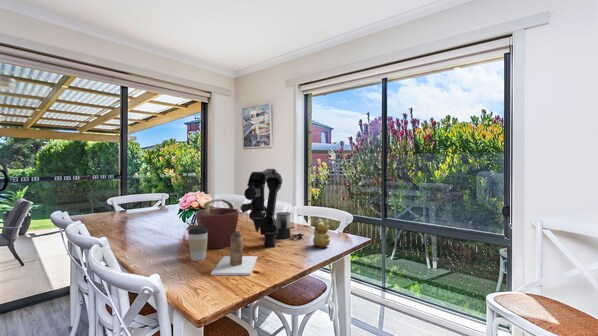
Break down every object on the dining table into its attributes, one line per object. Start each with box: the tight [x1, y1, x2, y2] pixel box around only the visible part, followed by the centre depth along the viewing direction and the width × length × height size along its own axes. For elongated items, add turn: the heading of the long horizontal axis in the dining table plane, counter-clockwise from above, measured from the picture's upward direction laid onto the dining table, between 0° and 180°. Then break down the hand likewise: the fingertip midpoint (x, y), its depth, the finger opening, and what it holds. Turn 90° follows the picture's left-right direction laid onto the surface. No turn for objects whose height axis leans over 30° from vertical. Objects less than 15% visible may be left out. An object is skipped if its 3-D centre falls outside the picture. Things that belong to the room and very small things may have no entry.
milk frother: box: [275, 211, 305, 240], centre depth 170 cm, size 14×16×15 cm
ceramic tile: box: [210, 255, 258, 276], centre depth 124 cm, size 20×16×1 cm
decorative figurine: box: [312, 218, 331, 249], centre depth 152 cm, size 10×8×15 cm
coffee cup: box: [187, 225, 208, 262], centre depth 133 cm, size 9×9×15 cm
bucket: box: [195, 198, 239, 250], centre depth 155 cm, size 24×22×25 cm
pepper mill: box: [229, 230, 244, 266], centre depth 124 cm, size 5×5×14 cm
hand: (258, 229), depth 138 cm, fingers open, 9 cm apart
